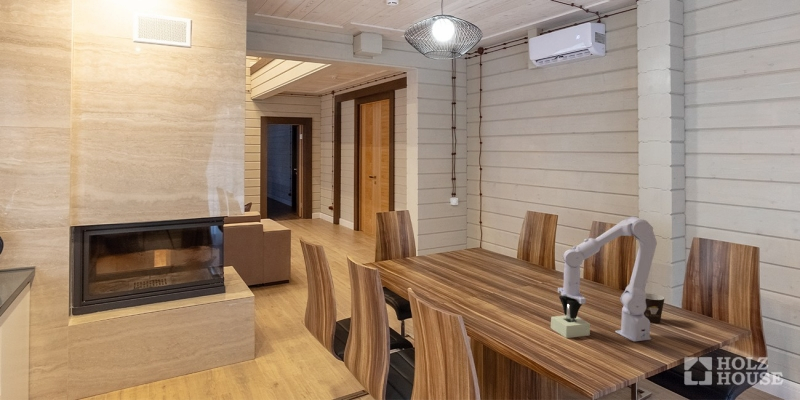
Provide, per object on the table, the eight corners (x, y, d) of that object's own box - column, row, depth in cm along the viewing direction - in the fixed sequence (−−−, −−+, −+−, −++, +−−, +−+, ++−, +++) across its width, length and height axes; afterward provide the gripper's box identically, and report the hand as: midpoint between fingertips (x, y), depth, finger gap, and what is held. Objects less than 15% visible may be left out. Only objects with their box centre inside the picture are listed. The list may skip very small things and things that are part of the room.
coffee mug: (665, 320, 186) (667, 296, 185) (659, 326, 180) (661, 301, 179) (634, 313, 194) (636, 290, 193) (628, 318, 188) (629, 295, 187)
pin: (576, 325, 174) (577, 304, 173) (569, 326, 173) (570, 305, 172) (570, 322, 176) (571, 302, 176) (564, 323, 175) (565, 303, 175)
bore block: (589, 335, 171) (590, 323, 171) (566, 338, 169) (566, 326, 168) (573, 325, 181) (573, 314, 180) (550, 328, 178) (551, 316, 178)
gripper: (551, 277, 179) (550, 311, 180) (574, 287, 165) (572, 324, 166) (567, 275, 181) (565, 309, 182) (591, 286, 167) (589, 322, 168)
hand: (570, 316), depth 174 cm, fingers closed on pin, 3 cm apart
